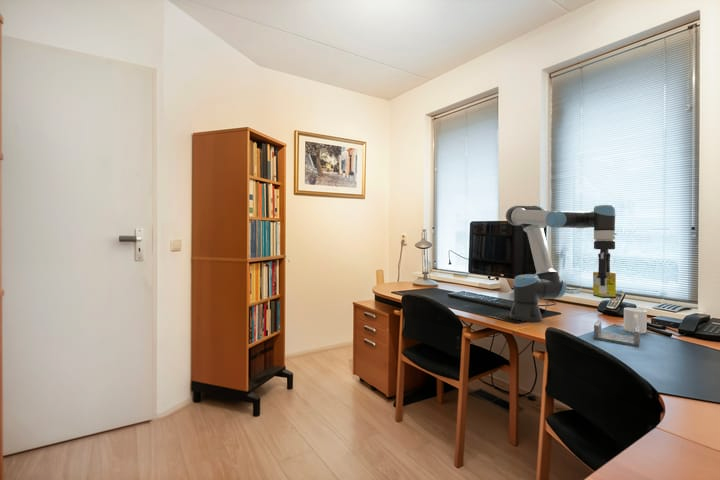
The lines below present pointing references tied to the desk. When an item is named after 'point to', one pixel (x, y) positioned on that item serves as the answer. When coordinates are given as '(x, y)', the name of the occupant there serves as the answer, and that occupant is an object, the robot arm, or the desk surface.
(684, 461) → the desk surface
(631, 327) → the mug
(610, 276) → the supplement box
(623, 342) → the bracket
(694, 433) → the desk surface
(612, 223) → the robot arm
